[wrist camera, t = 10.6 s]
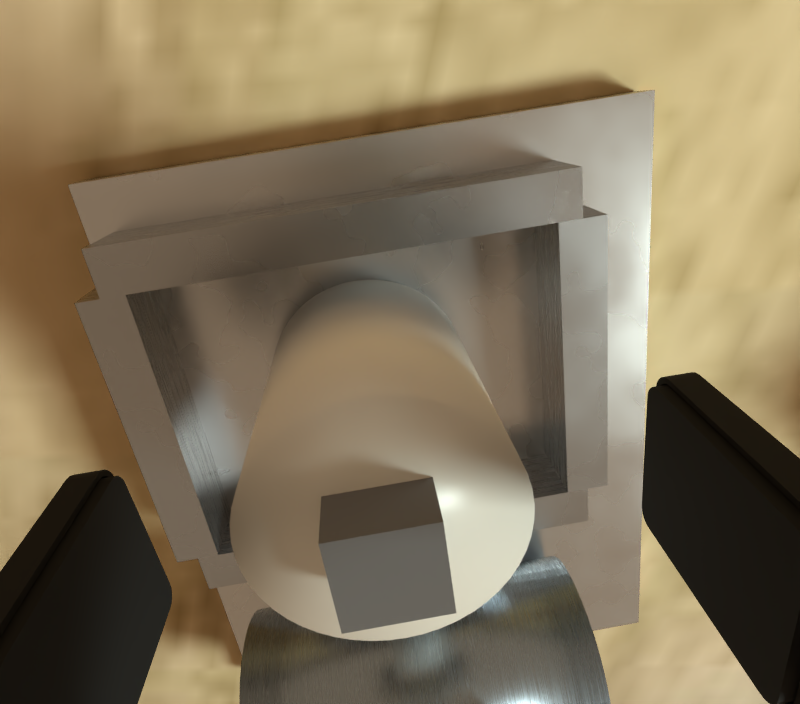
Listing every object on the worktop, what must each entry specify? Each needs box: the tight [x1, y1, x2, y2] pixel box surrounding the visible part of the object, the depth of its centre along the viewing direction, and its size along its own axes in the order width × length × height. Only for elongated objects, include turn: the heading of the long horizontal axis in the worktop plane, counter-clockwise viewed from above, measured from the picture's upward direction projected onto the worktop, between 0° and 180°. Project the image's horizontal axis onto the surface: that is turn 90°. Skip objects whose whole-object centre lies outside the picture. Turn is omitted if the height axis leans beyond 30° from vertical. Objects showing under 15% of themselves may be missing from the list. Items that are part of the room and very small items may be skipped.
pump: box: [230, 279, 535, 641], centre depth 13 cm, size 6×6×8 cm
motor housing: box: [68, 90, 655, 704], centre depth 15 cm, size 19×15×8 cm
